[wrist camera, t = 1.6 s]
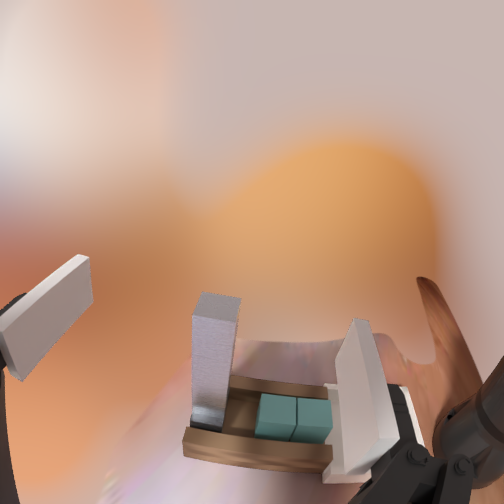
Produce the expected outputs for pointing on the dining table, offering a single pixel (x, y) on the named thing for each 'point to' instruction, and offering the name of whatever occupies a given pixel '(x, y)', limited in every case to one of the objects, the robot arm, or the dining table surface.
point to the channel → (243, 430)
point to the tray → (336, 467)
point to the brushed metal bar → (212, 358)
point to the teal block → (275, 418)
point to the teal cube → (312, 421)
